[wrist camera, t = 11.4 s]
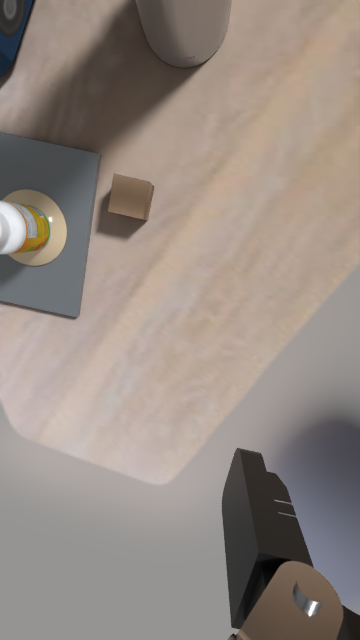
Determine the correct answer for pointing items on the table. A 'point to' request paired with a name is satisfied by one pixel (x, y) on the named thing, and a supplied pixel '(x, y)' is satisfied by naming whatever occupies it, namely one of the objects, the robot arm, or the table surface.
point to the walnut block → (130, 197)
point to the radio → (11, 29)
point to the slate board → (64, 215)
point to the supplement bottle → (22, 228)
